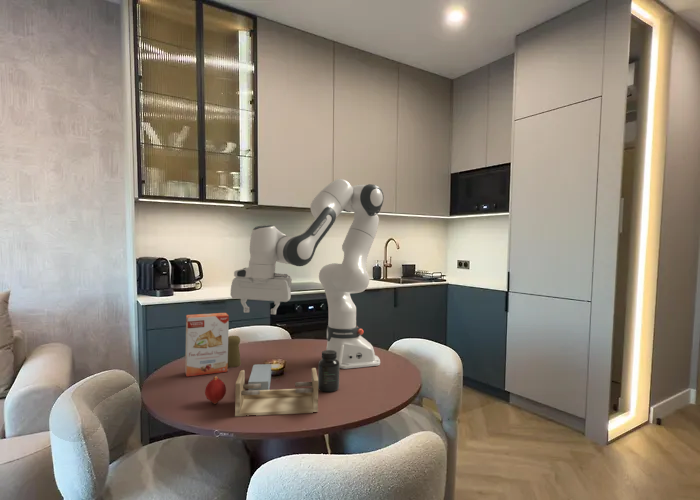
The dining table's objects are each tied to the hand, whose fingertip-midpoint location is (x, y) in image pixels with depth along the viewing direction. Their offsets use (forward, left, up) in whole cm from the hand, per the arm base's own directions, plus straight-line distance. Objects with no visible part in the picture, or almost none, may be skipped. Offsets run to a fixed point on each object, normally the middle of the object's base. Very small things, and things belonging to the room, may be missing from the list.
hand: (259, 313), depth 133 cm
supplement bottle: (-23, +9, -23) cm, 34 cm away
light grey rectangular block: (-1, +5, -23) cm, 24 cm away
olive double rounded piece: (+11, -19, -23) cm, 32 cm away
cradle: (-7, +21, -23) cm, 32 cm away
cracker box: (+19, -11, -23) cm, 32 cm away
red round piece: (+11, +17, -23) cm, 31 cm away
